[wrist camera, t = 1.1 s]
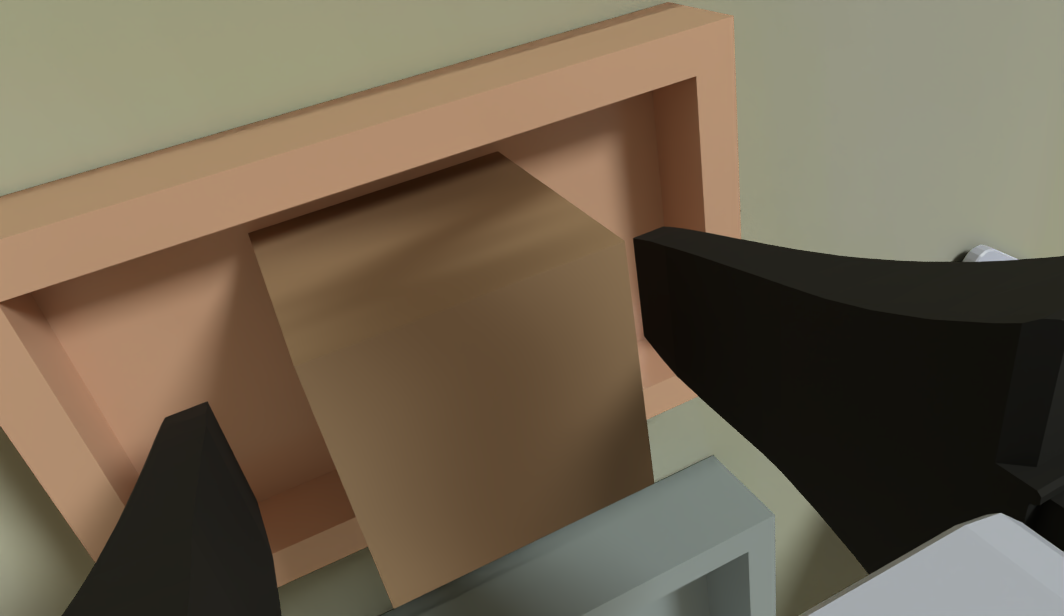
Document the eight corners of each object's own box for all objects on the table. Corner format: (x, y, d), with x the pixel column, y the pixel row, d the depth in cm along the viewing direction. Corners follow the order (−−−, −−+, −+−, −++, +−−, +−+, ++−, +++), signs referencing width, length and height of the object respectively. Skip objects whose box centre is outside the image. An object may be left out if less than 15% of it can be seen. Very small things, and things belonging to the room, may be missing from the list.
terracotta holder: (667, 2, 15) (733, 15, 13) (692, 333, 19) (746, 374, 17) (-74, 218, 11) (-108, 271, 10) (149, 565, 15) (151, 644, 14)
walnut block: (497, 151, 14) (625, 240, 11) (538, 353, 17) (654, 483, 13) (247, 232, 13) (293, 366, 9) (331, 438, 15) (393, 608, 12)
